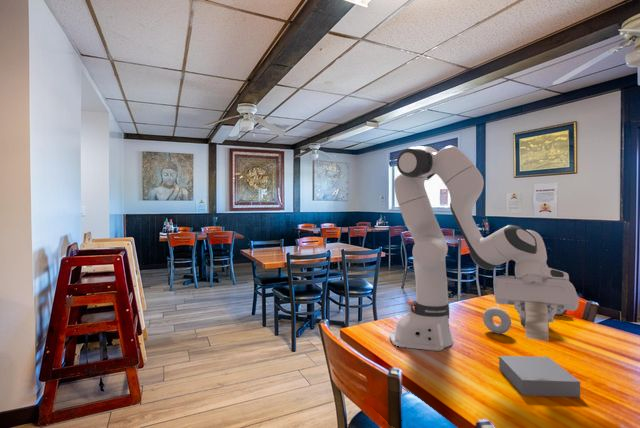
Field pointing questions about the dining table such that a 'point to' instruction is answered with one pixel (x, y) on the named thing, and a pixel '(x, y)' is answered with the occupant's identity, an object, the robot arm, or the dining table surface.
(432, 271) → the robot arm
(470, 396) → the dining table surface
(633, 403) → the dining table surface
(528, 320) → the grey upright block
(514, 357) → the grey plinth
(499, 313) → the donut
